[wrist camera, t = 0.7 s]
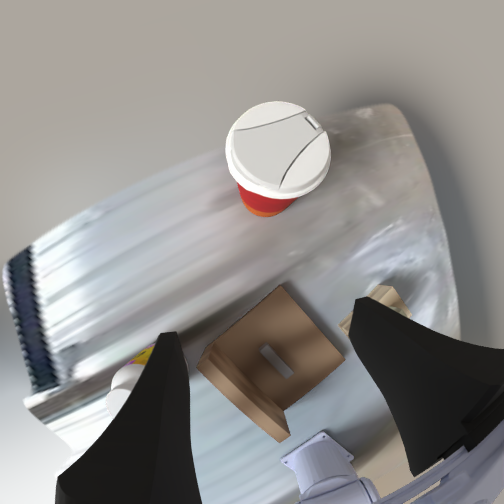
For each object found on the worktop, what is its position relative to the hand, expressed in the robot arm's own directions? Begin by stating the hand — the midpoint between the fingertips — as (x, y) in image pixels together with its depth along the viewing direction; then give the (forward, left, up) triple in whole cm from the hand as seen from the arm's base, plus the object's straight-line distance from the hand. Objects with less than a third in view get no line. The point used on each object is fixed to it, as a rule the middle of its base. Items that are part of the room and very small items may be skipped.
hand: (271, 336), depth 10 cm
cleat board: (-8, +3, -22) cm, 24 cm away
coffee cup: (+8, -9, -23) cm, 26 cm away
